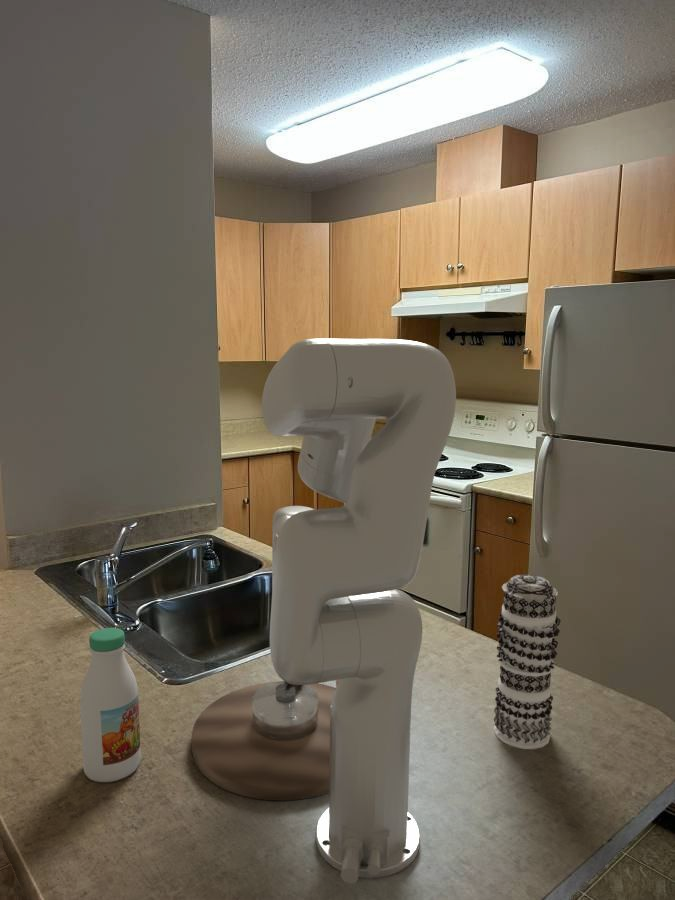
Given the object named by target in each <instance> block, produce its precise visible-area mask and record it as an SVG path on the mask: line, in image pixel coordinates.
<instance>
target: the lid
mask: <svg viewBox="0 0 675 900" xmlns="http://www.w3.org/2000/svg"><path fill="white" fill-rule="evenodd" d="M275 682H276V683H272V684H269V685H266V686H264V687H262V688H260V689H259V690H258V691H256V693H255V694H254V696H253V728H254V730H255V731H256V732H257V733H258V734H259V735H261V736H262V737H265V738H267V739H270V740H276V741H292V740H297V739H301V738H303V737H306V736H308V735H309V734H311V733H312V732H313V731H314V730H315V729H316V728H317V725H318V694H317V692H316V691H315V690H314V689H313V688H311V687H310V686H308V685H293V684H289V683H287V682H277V681H275Z"/></svg>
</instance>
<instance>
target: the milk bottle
mask: <svg viewBox="0 0 675 900" xmlns="http://www.w3.org/2000/svg"><path fill="white" fill-rule="evenodd" d="M125 639H126V637H125V632H124V630H123V629H121V628H118V627H106V628H101V629H97V630H95V631H93V632H92V633H91V634H90V635H89V639H88V640H89V642H88V643H89V647H90V648H89V652H90V653H91V657H90V658H91V659H90V664H89V666H88V668H87V671H86V674H85V675H84V678H83V681H82V684H81V690H80V729H81V747H82V748H81V749H82V766H83V772H84V774H85V776H86V777H87V778H88V779H90V780H91V781H93V782H96V783H97V782H98V783H113V782H116V781H119V780H123V779H125V778H126V777H127V778H128V776H131V775H132V774H133V773H135V772H136V770H137V769H138V767H139V765H140V763H141V757H142V756H141V751H142V750H141V727H140V726H141V725H140V704H139V702H140V701H139V691H138V688H139V687H138V683H137V679H136V677H135V674H134V672H133V670H132V668H131V666H130V665H129V663H128V661H127V658H126V656H125V652H124V649H125V647H126V644H125V642H126V640H125Z"/></svg>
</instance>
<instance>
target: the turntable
mask: <svg viewBox="0 0 675 900" xmlns="http://www.w3.org/2000/svg"><path fill="white" fill-rule="evenodd" d="M276 682H285V681H284V680H279V681H278V680H277V681H269V682H261V683H257V684H253V685H249V686H245V687H243V688H239V689H236V690H234V691H231V692H229V693H227V694H224V695H223V696H220V697H219V698H218V699H216V700H215V701H213V702H211V704H209V705H208V706H207V707H205V708H204V710H203V711H201V713H200V714H199V716H198V717H197V718H196V720H195V722H194V724H193V726H192V731H191V753H192V757H193V761H194V763H195V766H196V767H197V768H198V770H199V771H200V772H201V774H202V775H203V776H204V778H206V779H207V780H209V781H210V782H211V783H213V784H214V785H216V786H217V787H220V788H222V789H224V790H226V791H227V792H229V793H233V794H236V795H239V796H243V797H248V798H251V799H257V800H266V801H294V800H302V799H309V798H313V797H318V796H321V795H325V794H328V793H329V779H330V708H331V701H332V697H333V694H334V691H335V688H336V686H337V684H338V682H339V680H335V686H332V685H327V684H324V683H316V684H309V685H308V686H310V687H311V688H313V689H314V690H315V691H316V692H317V694H318V725H317V728H316V729H315V730H314V731H313V732H312V733H311V734H309V735H308V736H306V737H303V738H301V739H297V740H292V741H276V740H270V739H267V738H265V737H262V736H261V735H259V734H258V733H257V732H256V731H255V730H254V728H253V696H254V694H255V693H256V691H258V690H259V689H260V688H262V687H264V686H266V685H269V684H272V683H276Z"/></svg>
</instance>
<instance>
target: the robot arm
mask: <svg viewBox="0 0 675 900" xmlns="http://www.w3.org/2000/svg"><path fill="white" fill-rule="evenodd" d="M456 390H457V389H456V379H455V376H454V371H453V369H452V366H451V364H450V362H449V359H448V358H447V357H446V354H444V353H443V352H442V351H440V349H438V348H436V347H434V346H432V345H430V344H427V343H423V342H419V341H414V340H408V339H394V338H393V339H391V338H307V339H306V338H305V339H302V340H300V341H297V342H295V343H293V344H292V345H291V346H290V347H288V349H287V350H286V352H284V354H283V355H282V356H281V357H280V358H279V360H278V361H277V362H276V363H275V364H274V365H273V367H272V369H271V371H270V372H269V374H268V375H267V378H266V380H265V383H264V387H263V391H262V396H261V413H262V419H263V423H264V425H265V428H266V430H268V431H269V433H271V434H272V435H273V436H275V437H300V436H301V437H302V442H301V447H300V452H299V456H298V460H297V472H298V475H299V478H300V480H301V481H302V482H303V483H304V484H305V485H306V486H307V487H308V488H309V489H311V490H312V491H314V492H315V493H318V494H320V495H322V496H325V497H328V498H330V499H333V500H336V501H339V502H341V503H344V505H342V506H339V507H332V508H331V507H330V508H328V507H327V508H318V509H317V508H316V509H314V508H312V507H308V506H303V505H290V506H284V507H280V508H278V509H277V510H276V511H275V512H274V513H273V516H272V523H271V524H272V527H271V529H272V533H271V534H272V538H271V539H272V540H271V541H272V544H271V545H272V547H271V548H272V552H271V553H272V554H271V556H272V558H271V560H272V561H271V562H272V563H271V564H272V566H271V568H272V569H271V571H272V572H271V573H272V574H271V575H272V579H271V580H272V581H271V582H272V583H271V584H272V585H271V588H272V590H271V593H272V595H271V607H270V608H271V609H270V620H269V621H270V622H269V651H270V658H271V663H272V667H273V669H274V672H275V673H276V674H277V676H278V677H279V678H280V679H281V681H285V682H287V683H289V684H293V685H309V684H316V683H319V684H323V683H328V682H332V681H336V680H339V682H338V684H337V686H336V685H335V691H334V694H333V697H332V701H331V708H330V779H329V792H328V793H329V796H328V797H329V798H328V801H329V802H328V804H329V805H328V808H327V809H325V811H324V812H323V813H322V814H321V816H320V817H319V819H318V821H317V823H316V828H315V840H316V846H317V849H318V851H319V854H320V855H321V856H322V857H323V859H324V860H325V861H326V862H327V863H328V864H329V865H330V866H332V867H333V868H334V869H336V870H338V871H340V877H341V880H342V881H343V882H345V883H346V884H349V885H350V884H355V883H356V882H357V881H359V880H358V879H359V878H367V879H376V878H384V877H389V876H391V875H394V874H396V873H399V872H401V871H403V870H404V869H406V868H408V866H409V865H410V864H411V863H412V862H413V861H414V860H415V859H416V856H417V855H418V854H419V849H420V845H421V834H420V828H419V825H418V822H417V821H416V820H415V818H414V817H413V815H412V814H411V813H409V786H410V785H409V784H410V753H411V752H410V750H411V724H412V721H411V720H412V702H413V701H412V700H413V697H412V696H413V688H414V679H415V673H416V669H417V663H418V660H419V656H420V652H421V646H422V641H423V629H424V628H423V620H422V619H423V618H422V615H421V612H420V609H419V606H418V604H417V603H416V601H415V600H414V599H413V598H412V597H411V596H410V595H409V594H407V593H406V592H404V591H403V590H400V589H401V588H404V587H406V586H408V585H409V584H410V583H411V582H413V580H414V579H415V577H416V576H417V575H416V574H417V573H418V570H419V566H420V562H421V557H422V553H423V546H424V540H425V534H426V533H425V532H426V527H427V521H428V515H429V510H430V509H429V508H430V503H431V495H432V488H433V483H434V479H435V473H436V471H437V469H438V468H437V467H438V465H439V462H440V460H441V457H442V455H443V452H444V450H445V447H446V445H447V442H448V439H449V436H450V433H451V431H452V427H453V423H454V419H455V411H456V402H457V391H456ZM379 419H382V420H383V419H384V420H385V419H386V423H385V424H384V426H383V427H382V428H381V429H379V431H377V432H376V433H375V434H374V435H373V431H374V427H375V424H376V421H377V420H379ZM372 435H373V436H372Z"/></svg>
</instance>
